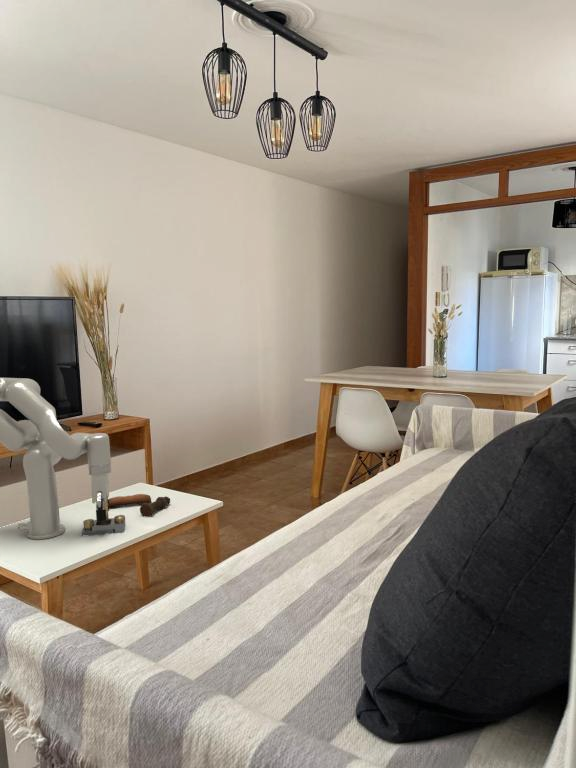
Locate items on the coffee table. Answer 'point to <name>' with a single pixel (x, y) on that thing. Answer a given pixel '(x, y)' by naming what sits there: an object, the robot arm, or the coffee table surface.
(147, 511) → the bolt
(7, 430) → the robot arm
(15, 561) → the coffee table surface
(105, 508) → the link pin
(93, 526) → the brass knob on bracket
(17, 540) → the coffee table surface
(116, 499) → the sunglasses case
